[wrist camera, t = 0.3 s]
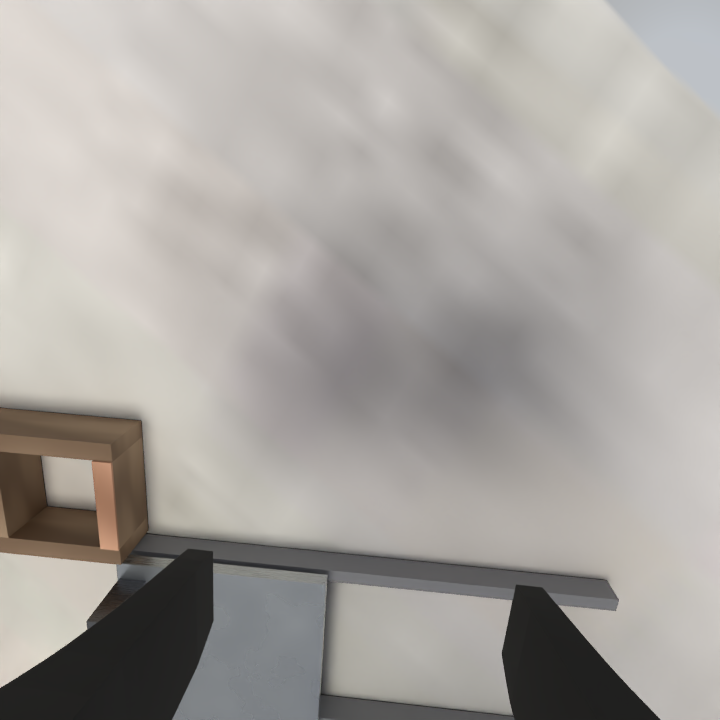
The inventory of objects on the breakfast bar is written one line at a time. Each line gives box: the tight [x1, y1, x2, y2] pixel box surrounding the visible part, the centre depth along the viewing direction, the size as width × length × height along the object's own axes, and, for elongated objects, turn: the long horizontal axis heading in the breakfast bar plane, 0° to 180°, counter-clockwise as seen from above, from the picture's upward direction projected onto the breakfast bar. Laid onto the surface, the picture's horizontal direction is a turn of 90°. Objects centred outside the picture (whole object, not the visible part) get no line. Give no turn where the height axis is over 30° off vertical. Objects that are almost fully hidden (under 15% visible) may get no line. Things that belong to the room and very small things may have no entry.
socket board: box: [0, 408, 148, 565], centre depth 21 cm, size 6×11×2 cm, turn 86°
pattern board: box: [129, 534, 619, 720], centre depth 23 cm, size 10×22×1 cm, turn 86°
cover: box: [87, 555, 328, 720], centre depth 21 cm, size 10×9×3 cm
